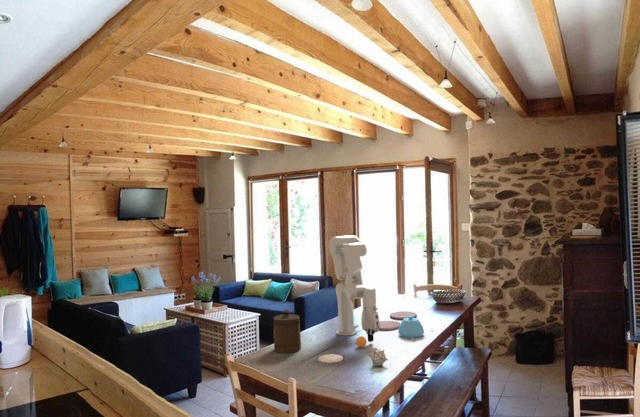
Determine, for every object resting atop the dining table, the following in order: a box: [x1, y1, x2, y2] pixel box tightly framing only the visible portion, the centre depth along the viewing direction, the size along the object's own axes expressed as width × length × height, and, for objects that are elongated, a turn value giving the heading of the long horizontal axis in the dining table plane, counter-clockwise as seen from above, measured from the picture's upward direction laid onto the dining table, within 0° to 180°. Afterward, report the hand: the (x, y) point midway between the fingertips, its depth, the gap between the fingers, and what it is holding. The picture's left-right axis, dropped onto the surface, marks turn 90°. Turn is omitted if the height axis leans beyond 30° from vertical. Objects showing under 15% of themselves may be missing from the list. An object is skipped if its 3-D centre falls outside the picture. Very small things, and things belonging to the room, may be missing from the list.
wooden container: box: [273, 309, 302, 354], centre depth 270 cm, size 15×15×22 cm
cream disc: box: [317, 353, 344, 364], centre depth 251 cm, size 13×13×1 cm
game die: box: [368, 348, 389, 368], centre depth 238 cm, size 9×8×10 cm
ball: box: [355, 336, 368, 348], centre depth 269 cm, size 6×6×6 cm
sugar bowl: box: [398, 315, 425, 339], centre depth 289 cm, size 15×15×12 cm
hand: (370, 341), depth 274 cm, fingers closed
